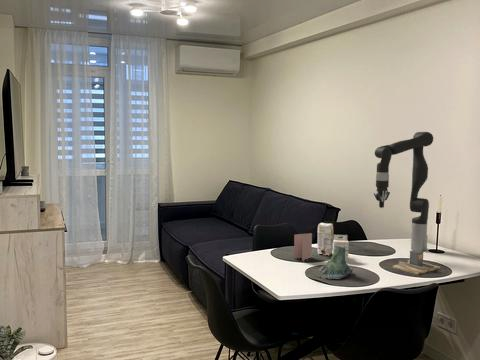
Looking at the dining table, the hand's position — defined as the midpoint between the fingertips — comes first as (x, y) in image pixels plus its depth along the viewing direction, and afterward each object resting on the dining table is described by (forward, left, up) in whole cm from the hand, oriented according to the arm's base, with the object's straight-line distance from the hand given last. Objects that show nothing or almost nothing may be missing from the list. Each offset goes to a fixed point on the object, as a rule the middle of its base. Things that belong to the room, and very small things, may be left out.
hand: (381, 207), depth 285 cm
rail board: (+9, +32, -29) cm, 44 cm away
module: (+9, +32, -28) cm, 43 cm away
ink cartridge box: (+32, -3, -29) cm, 43 cm away
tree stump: (+55, +15, -29) cm, 64 cm away
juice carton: (+30, -18, -29) cm, 45 cm away
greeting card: (+49, -15, -29) cm, 59 cm away
